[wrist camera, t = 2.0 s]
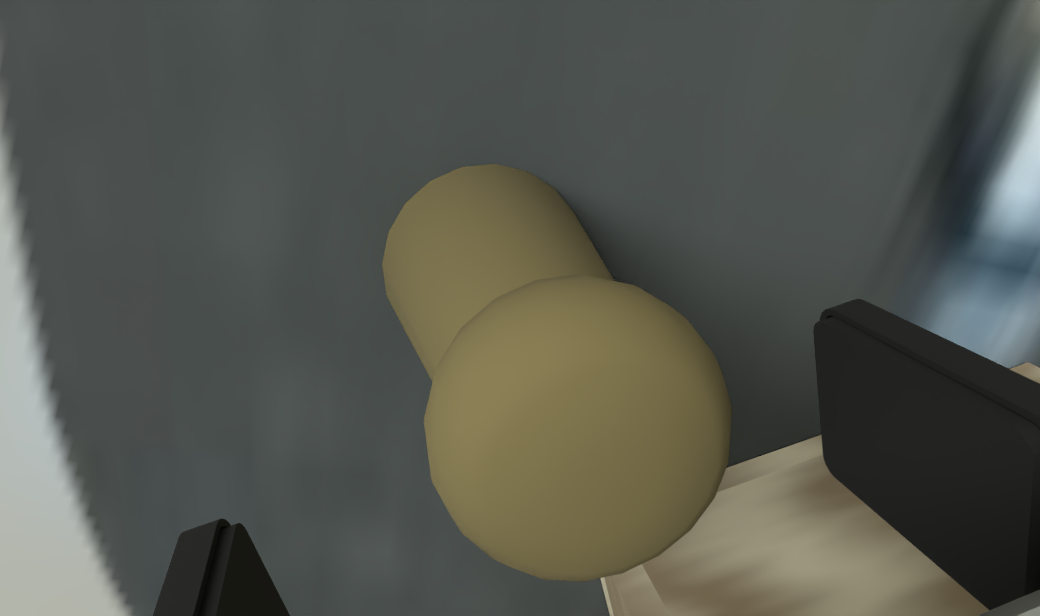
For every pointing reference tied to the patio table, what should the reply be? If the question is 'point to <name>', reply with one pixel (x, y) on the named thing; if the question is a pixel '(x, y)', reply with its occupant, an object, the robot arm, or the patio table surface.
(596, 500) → the cork
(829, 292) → the patio table surface
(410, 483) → the patio table surface
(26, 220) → the patio table surface
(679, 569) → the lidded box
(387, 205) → the patio table surface
